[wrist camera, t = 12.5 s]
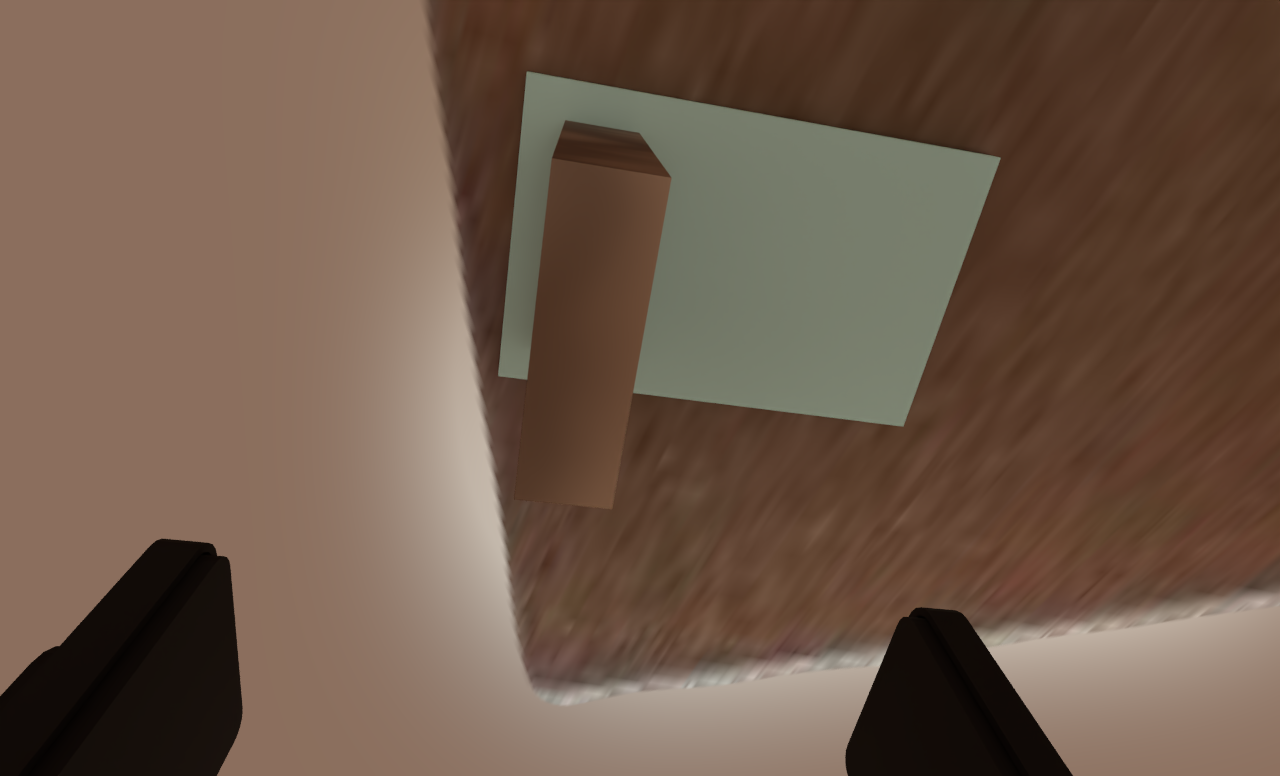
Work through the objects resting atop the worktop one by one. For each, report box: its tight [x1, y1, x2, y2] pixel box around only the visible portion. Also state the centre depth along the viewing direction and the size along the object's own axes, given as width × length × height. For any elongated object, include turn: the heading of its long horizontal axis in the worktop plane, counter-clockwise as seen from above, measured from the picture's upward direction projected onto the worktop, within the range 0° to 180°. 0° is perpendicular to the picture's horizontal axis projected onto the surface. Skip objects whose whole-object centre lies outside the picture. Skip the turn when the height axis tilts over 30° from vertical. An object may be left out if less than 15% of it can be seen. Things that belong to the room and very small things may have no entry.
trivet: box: [498, 71, 1001, 426], centre depth 32 cm, size 20×13×1 cm, turn 80°
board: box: [514, 120, 672, 509], centre depth 25 cm, size 3×10×12 cm, turn 171°
